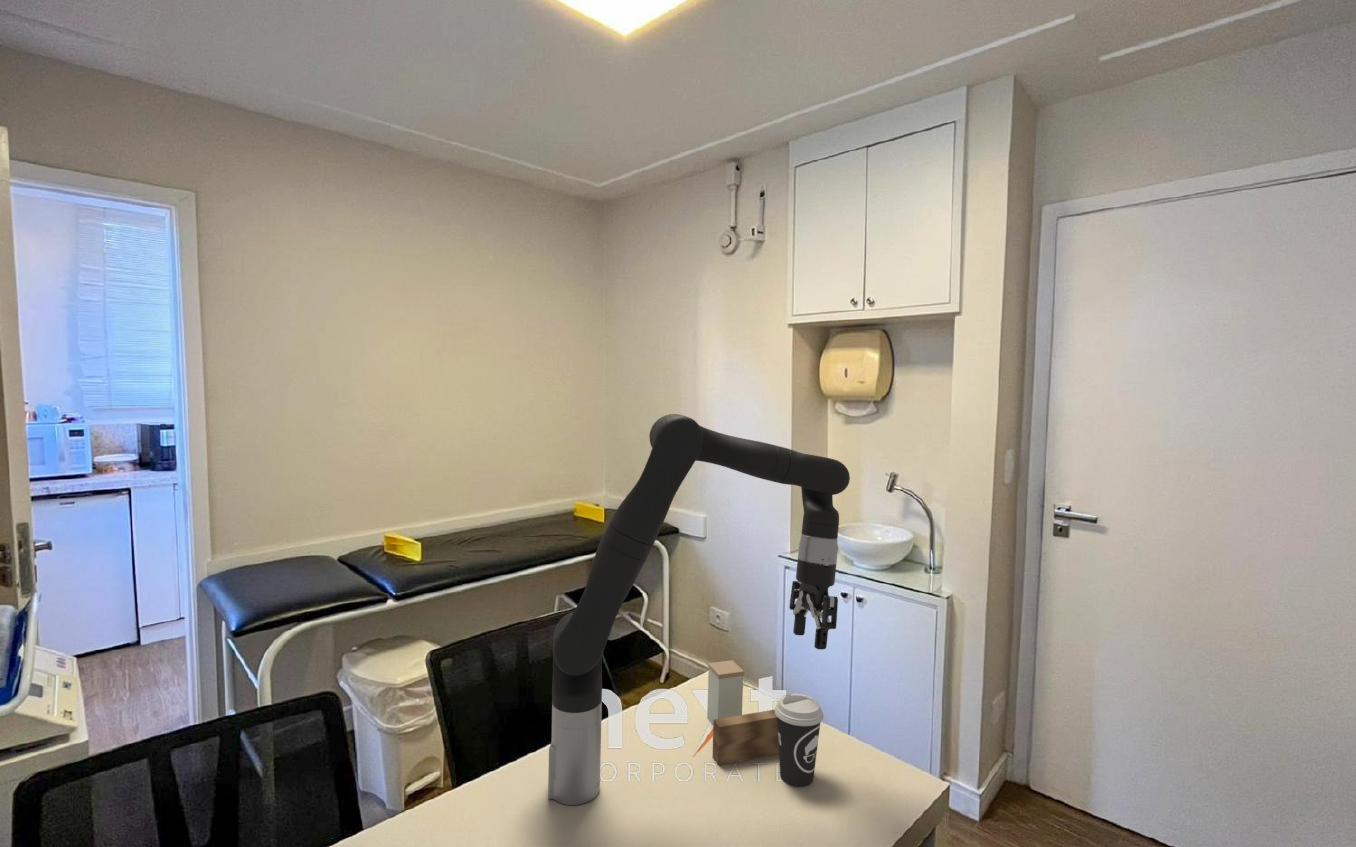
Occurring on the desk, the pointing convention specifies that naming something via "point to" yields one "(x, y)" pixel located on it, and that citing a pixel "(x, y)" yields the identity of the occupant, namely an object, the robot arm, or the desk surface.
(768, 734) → the board
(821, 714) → the coffee cup
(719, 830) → the desk surface
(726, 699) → the canister
